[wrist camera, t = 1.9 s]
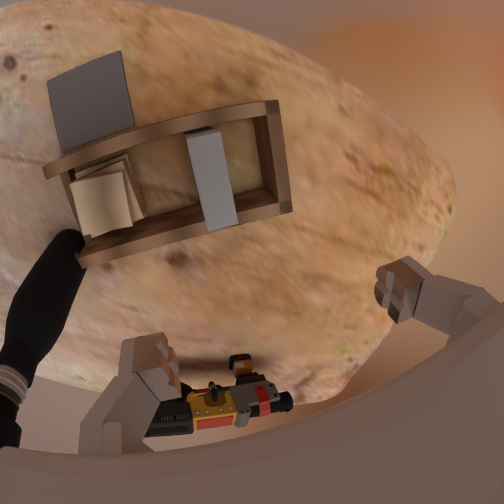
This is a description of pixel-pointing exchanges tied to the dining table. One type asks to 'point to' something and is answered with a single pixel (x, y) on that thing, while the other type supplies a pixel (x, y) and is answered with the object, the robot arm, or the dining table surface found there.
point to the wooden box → (190, 218)
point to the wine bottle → (36, 324)
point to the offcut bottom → (107, 162)
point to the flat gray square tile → (90, 101)
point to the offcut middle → (134, 193)
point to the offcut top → (103, 202)
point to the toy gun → (220, 403)
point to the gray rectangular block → (211, 177)
